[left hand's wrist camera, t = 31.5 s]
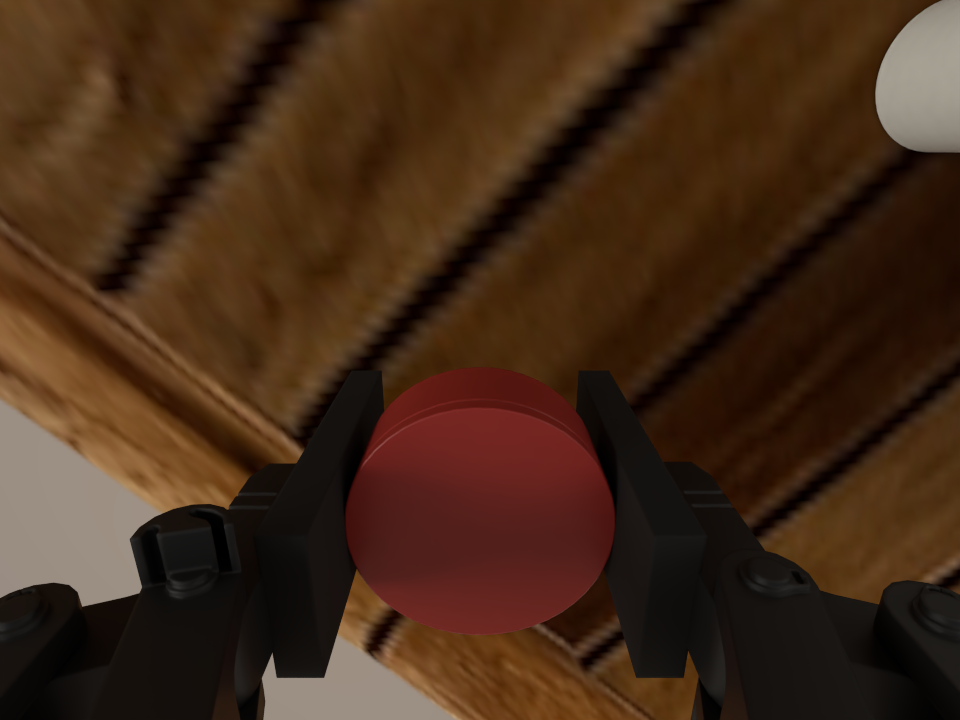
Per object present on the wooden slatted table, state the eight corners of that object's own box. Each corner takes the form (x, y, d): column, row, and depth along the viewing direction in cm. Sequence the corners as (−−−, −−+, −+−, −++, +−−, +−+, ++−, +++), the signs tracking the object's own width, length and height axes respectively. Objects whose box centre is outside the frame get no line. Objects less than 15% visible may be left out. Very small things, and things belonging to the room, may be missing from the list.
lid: (640, 485, 12) (669, 545, 10) (466, 601, 13) (464, 673, 11) (496, 317, 11) (499, 350, 9) (316, 460, 12) (286, 516, 10)
